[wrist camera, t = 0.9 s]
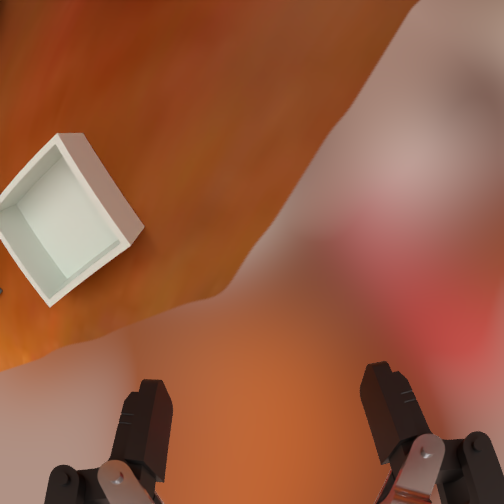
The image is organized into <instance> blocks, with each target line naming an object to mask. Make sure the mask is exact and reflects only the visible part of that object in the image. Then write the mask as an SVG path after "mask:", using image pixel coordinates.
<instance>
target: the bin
mask: <svg viewBox="0 0 504 504" xmlns="http://www.w3.org/2000/svg"><path fill="white" fill-rule="evenodd" d="M144 227H145V226H144V225H143V224H142V222H141V221H140V219H139V218H138V216H137V215H136V214H135V212H134V211H133V209H132V208H131V206H130V205H129V203H128V202H127V200H126V199H125V198H124V196H123V195H122V193H121V192H120V190H119V189H118V187H117V186H116V184H115V183H114V181H113V180H112V178H111V177H110V175H109V173H108V172H107V170H106V169H105V167H104V166H103V164H102V163H101V161H100V159H99V158H98V156H97V155H96V153H95V152H94V150H93V148H92V147H91V145H90V144H89V142H88V140H87V139H86V137H85V135H84V134H83V133H57V134H56V135H55V136H54V137H53V138H52V139H51V140H50V141H49V142H48V143H47V144H46V145H45V146H44V147H43V148H42V149H41V150H40V151H39V152H38V153H37V154H36V155H35V156H34V157H33V158H32V159H31V160H30V161H29V162H28V163H27V164H26V166H25V167H24V168H23V169H22V170H21V171H20V172H19V173H18V175H17V176H16V177H15V178H14V179H13V180H12V181H11V183H10V184H9V185H8V186H7V187H6V189H5V190H4V191H3V192H2V194H1V195H0V239H1V241H2V242H3V244H4V245H5V247H6V248H7V250H8V251H9V253H10V254H11V256H12V257H13V259H14V260H15V262H16V263H17V265H18V266H19V268H20V269H21V270H22V272H23V273H24V275H25V276H26V277H27V279H28V280H29V281H30V283H31V284H32V286H33V287H34V288H35V289H36V291H37V292H38V293H39V295H40V296H41V297H42V298H43V300H44V301H45V302H46V303H47V305H48V306H49V307H51V306H52V305H53V304H55V303H56V302H57V301H58V300H60V299H61V298H62V297H63V296H65V295H66V294H67V293H68V292H70V291H71V290H72V289H74V288H75V287H76V286H77V285H79V284H80V283H81V282H83V281H84V280H85V279H86V278H88V277H89V276H90V275H92V274H93V273H94V272H96V271H97V270H98V269H100V268H101V267H102V266H104V265H105V264H106V263H108V262H109V261H110V260H112V259H113V258H114V257H116V256H117V255H119V254H120V253H121V252H123V251H124V250H126V249H127V248H128V247H130V246H131V245H132V244H133V242H134V241H135V239H136V238H137V237H138V235H139V234H140V233H141V231H142V230H143V229H144Z"/></svg>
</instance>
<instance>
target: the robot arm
mask: <svg viewBox="0 0 504 504" xmlns="http://www.w3.org/2000/svg"><path fill="white" fill-rule="evenodd" d="M360 397H361V401H362V404H363V407H364V410H365V413H366V417H367V420H368V423H369V426H370V429H371V432H372V436H373V439H374V442H375V446H376V449H377V452H378V456H379V459H380V462H381V465H383V464H386V463H390V466H391V470H390V472H389V474H388V477H387V478H386V481H385V483H384V485H383V487H382V489H381V491H380V493H379V495H378V497H377V499H376V501H375V503H374V504H432V502H431V500H430V495H431V492H432V490H433V487H434V484H437V488H438V492H439V495H440V499H441V504H504V475H503V473H502V470H501V467H500V464H499V461H498V459H497V456H496V453H495V451H494V448H493V445H492V443H491V440H490V438H489V437H488V436H487V435H486V434H485V433H483V432H472V433H470V434H469V435H468V436H467V437H466V438H465V439H456V440H443V439H441V438H439V437H438V436H436V435H434V434H433V433H432V432H431V431H430V429H429V427H428V425H427V423H426V420H425V418H424V416H423V414H422V411H421V409H420V406H419V404H418V402H417V400H416V397H415V395H414V393H413V392H412V389H411V386H410V384H409V382H408V380H407V379H406V378H405V377H404V376H403V375H402V374H401V373H400V372H399V371H397V372H393V373H392V371H391V369H390V367H389V364H388V363H387V362H386V361H382V362H377V363H372V364H368V365H367V367H366V370H365V373H364V376H363V379H362V383H361V385H360ZM121 413H122V414H121V416H120V419H119V424H118V428H117V431H116V436H115V440H114V444H113V448H112V452H111V456H110V458H109V460H108V461H107V462H105V463H104V464H103V465H102V466H101V467H99V468H95V469H88V470H78V471H76V470H75V469H73V468H72V467H70V466H68V465H59V466H57V467H55V468H54V469H53V470H52V472H51V474H50V477H49V482H48V487H47V492H46V497H45V503H44V504H164V503H163V501H162V500H161V499H160V497H159V496H158V495H157V493H156V491H155V482H164V479H165V469H166V461H167V453H168V444H169V437H170V430H171V423H172V416H173V405H172V401H171V398H170V396H169V394H168V392H167V390H166V388H165V385H164V383H163V381H162V380H148V379H144V380H142V382H141V385H140V389H139V392H131V393H130V395H129V396H128V397H127V398H126V400H125V401H124V404H123V408H122V412H121Z"/></svg>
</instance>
